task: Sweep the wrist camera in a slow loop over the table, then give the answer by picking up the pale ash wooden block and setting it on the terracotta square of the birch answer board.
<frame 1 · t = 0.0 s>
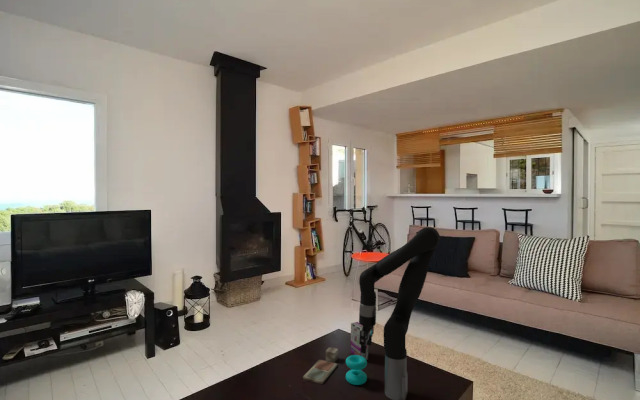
hand: (366, 348, 144), 17 cm above the table, tool pointing down, fingers open, 8 cm apart
candy bar box: (359, 356, 173), on the table
donuts: (356, 380, 149), on the table
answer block: (331, 359, 169), on the table
answer board: (320, 372, 156), on the table
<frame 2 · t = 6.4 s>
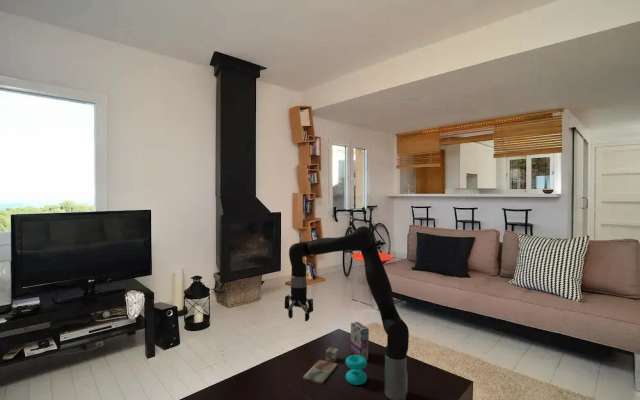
hand: (298, 319, 150), 28 cm above the table, tool pointing down, fingers open, 8 cm apart
nothing on the table moved.
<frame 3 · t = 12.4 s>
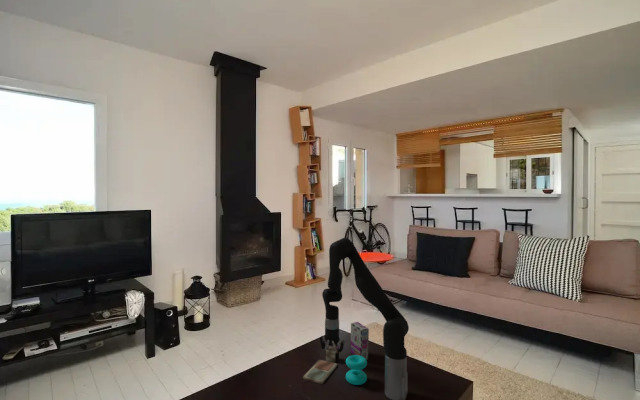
hand: (331, 357, 169), 1 cm above the table, tool pointing down, fingers closed on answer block, 5 cm apart
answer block: (331, 359, 169), on the table, touching gripper
everything else where it was.
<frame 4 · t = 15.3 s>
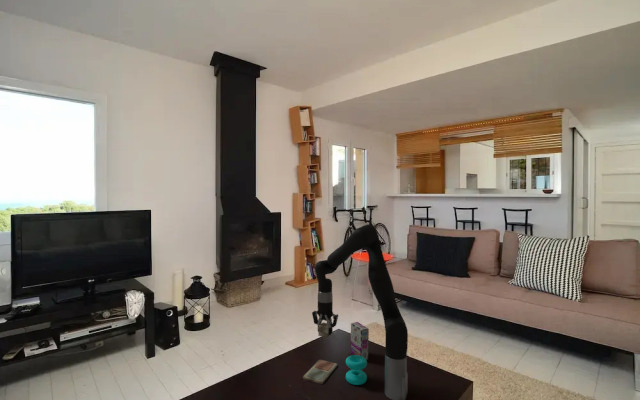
hand: (324, 333, 160), 17 cm above the table, tool pointing down, fingers closed on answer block, 5 cm apart
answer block: (325, 334, 160), point 17 cm above the table, touching gripper
everything else where it was.
when the fingers open (3 cm above the table, at t = 18.4 s): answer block drops 1 cm, resting on answer board.
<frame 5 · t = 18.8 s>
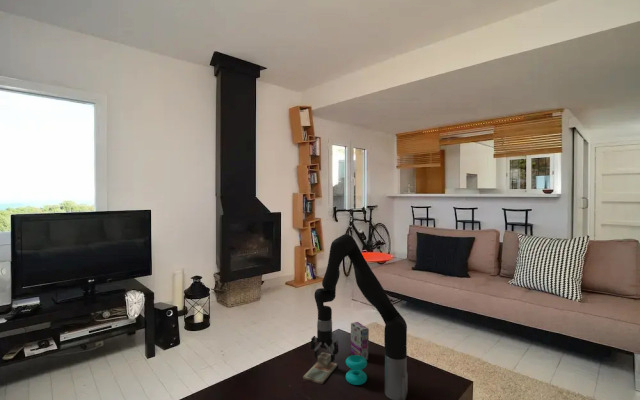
hand: (324, 359, 160), 4 cm above the table, tool pointing down, fingers open, 8 cm apart
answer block: (324, 365, 160), point 1 cm above the table, touching answer board
everything else where it was.
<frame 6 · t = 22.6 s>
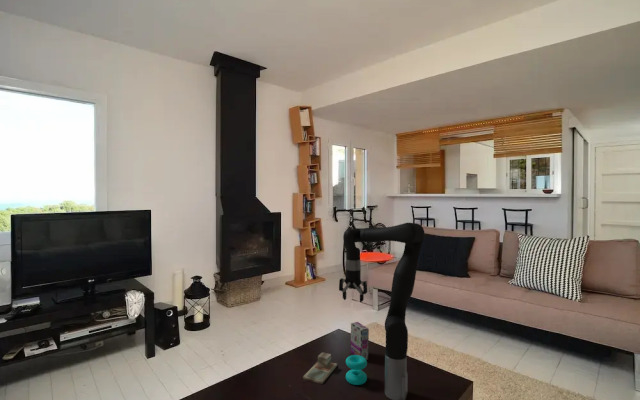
hand: (352, 300, 160), 34 cm above the table, tool pointing down, fingers open, 8 cm apart
nothing on the table moved.
at the end: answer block 0.0 cm from the target spot on the answer board, point 1.2 cm above the answer board's base; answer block tilted 0°; the gripper is holding nothing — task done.
